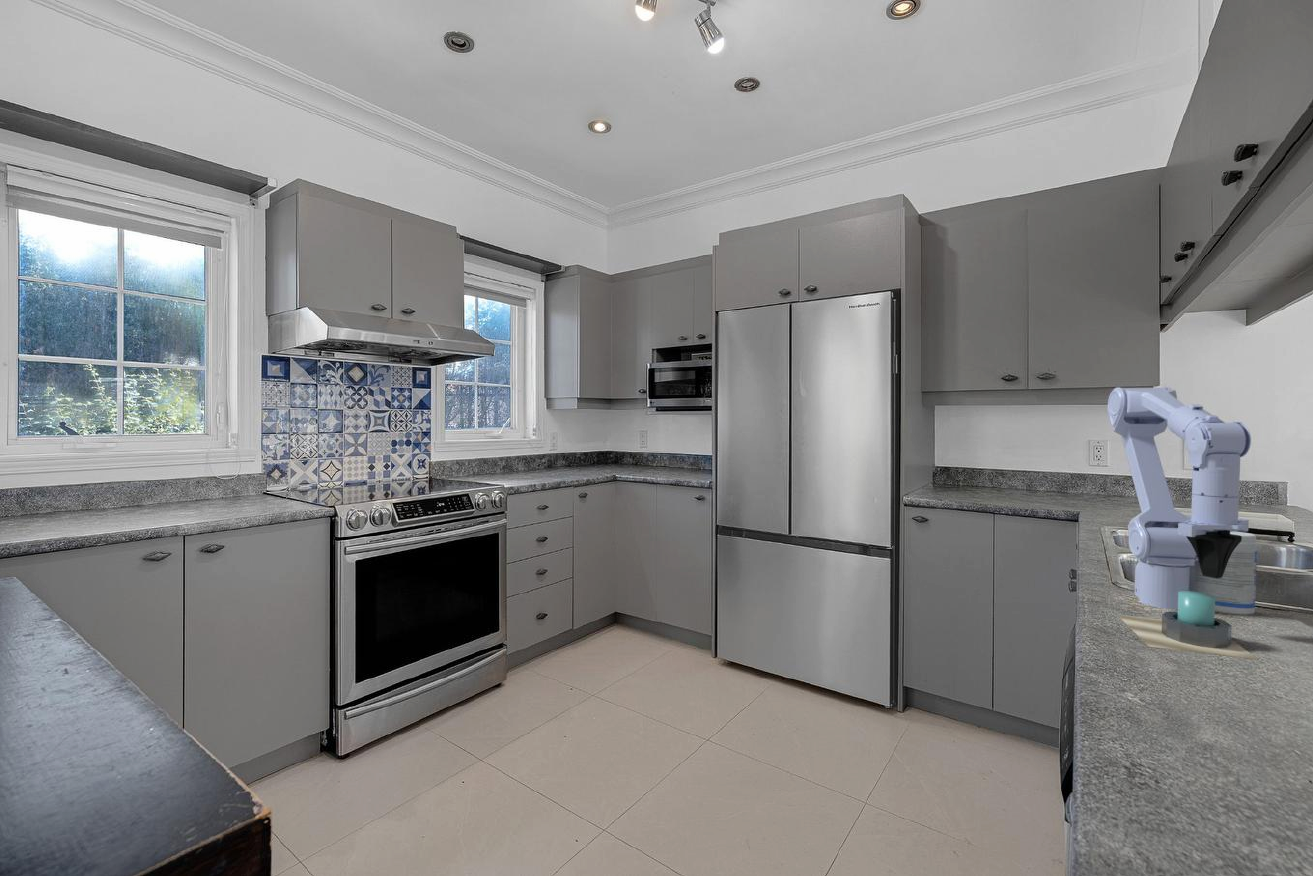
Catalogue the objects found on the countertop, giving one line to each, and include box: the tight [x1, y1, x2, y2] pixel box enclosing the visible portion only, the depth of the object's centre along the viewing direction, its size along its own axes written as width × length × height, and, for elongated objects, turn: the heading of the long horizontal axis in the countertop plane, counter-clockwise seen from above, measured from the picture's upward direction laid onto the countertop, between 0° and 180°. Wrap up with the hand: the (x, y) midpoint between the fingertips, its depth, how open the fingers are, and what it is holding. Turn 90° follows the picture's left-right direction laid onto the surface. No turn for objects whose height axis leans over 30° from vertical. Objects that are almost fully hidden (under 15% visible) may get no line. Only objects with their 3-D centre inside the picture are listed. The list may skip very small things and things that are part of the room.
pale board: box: [1117, 614, 1260, 661], centre depth 98 cm, size 16×13×1 cm
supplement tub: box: [1189, 531, 1258, 615], centre depth 113 cm, size 10×10×15 cm
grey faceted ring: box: [1161, 610, 1232, 648], centre depth 97 cm, size 8×8×3 cm
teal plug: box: [1177, 591, 1216, 626], centre depth 97 cm, size 4×4×7 cm
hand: (1212, 576), depth 101 cm, fingers closed
